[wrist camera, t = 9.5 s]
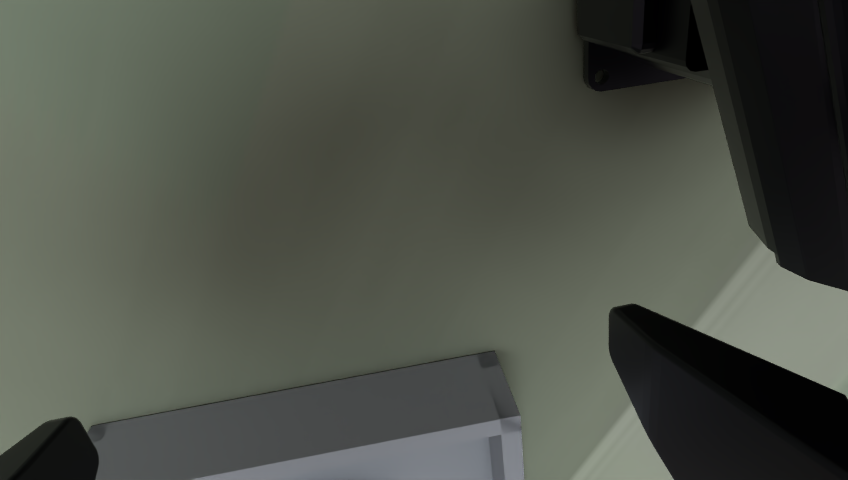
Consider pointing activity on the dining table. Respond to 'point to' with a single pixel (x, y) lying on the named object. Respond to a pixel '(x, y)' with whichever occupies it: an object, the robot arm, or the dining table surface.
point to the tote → (334, 431)
